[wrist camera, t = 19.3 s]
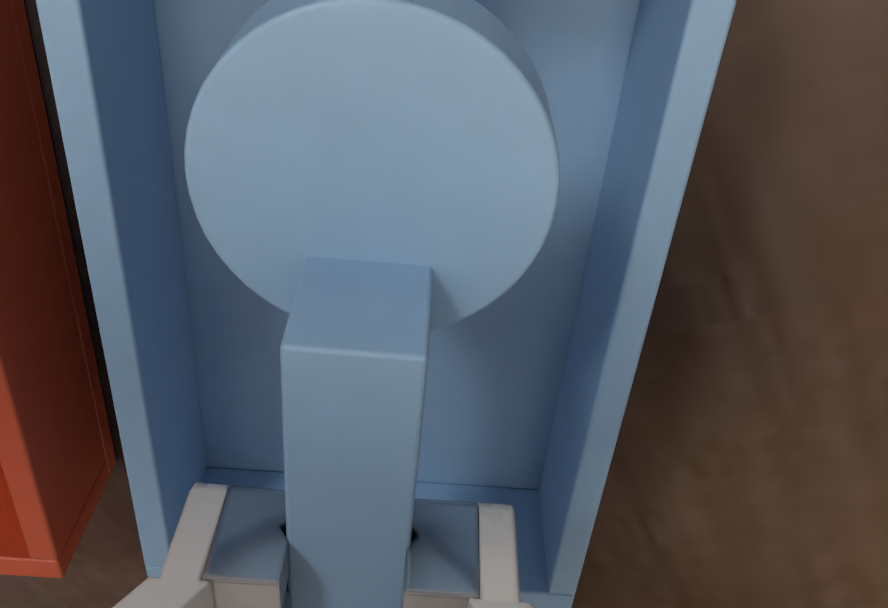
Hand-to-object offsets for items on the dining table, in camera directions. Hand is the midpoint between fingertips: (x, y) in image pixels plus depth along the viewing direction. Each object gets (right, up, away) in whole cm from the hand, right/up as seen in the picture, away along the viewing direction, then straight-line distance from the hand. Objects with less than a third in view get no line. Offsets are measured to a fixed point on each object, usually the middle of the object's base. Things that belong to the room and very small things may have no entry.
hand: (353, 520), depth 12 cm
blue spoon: (0, +2, +1) cm, 2 cm away
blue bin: (0, +5, +5) cm, 7 cm away
